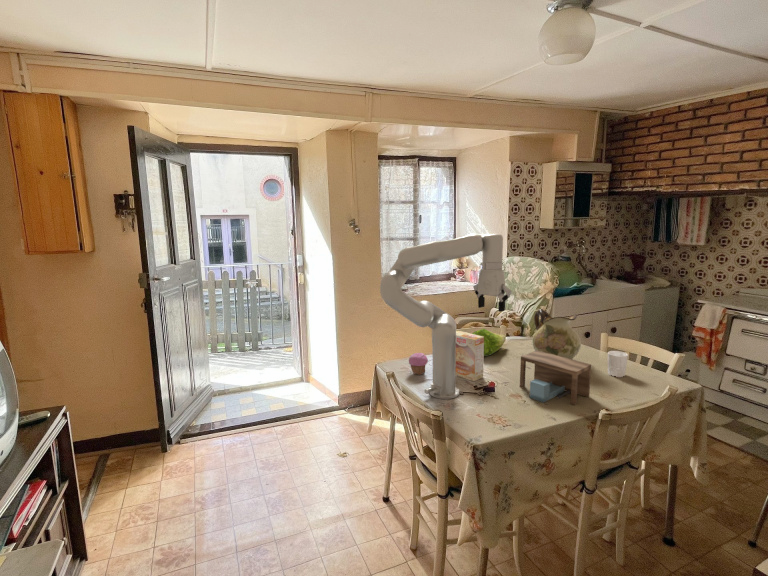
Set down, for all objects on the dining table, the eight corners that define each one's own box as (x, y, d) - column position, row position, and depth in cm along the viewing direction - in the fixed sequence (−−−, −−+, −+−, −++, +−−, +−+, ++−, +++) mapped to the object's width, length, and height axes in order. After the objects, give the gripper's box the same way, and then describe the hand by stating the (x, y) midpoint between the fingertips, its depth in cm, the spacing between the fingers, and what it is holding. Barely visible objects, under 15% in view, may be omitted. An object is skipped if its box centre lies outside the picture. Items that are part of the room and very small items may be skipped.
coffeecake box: (448, 373, 196) (448, 332, 193) (457, 369, 201) (457, 329, 198) (474, 381, 185) (475, 339, 182) (483, 377, 190) (484, 336, 187)
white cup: (621, 379, 184) (623, 357, 182) (603, 374, 190) (604, 353, 188) (629, 374, 189) (630, 353, 187) (610, 370, 195) (612, 349, 193)
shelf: (574, 405, 160) (576, 372, 158) (519, 386, 179) (520, 356, 176) (589, 396, 168) (591, 364, 165) (535, 379, 186) (536, 350, 184)
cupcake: (430, 371, 198) (430, 351, 196) (423, 378, 190) (423, 357, 189) (413, 369, 202) (413, 349, 200) (405, 375, 194) (405, 354, 193)
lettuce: (490, 345, 239) (513, 354, 228) (464, 352, 223) (487, 361, 212) (494, 321, 236) (517, 328, 225) (467, 326, 220) (491, 334, 209)
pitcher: (577, 372, 193) (580, 319, 189) (524, 364, 205) (526, 314, 201) (581, 358, 212) (584, 310, 208) (533, 351, 224) (535, 306, 220)
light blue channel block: (543, 402, 163) (544, 385, 162) (529, 397, 168) (530, 381, 167) (564, 391, 173) (565, 375, 172) (550, 387, 178) (551, 371, 176)
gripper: (468, 265, 166) (467, 307, 169) (505, 268, 153) (504, 314, 156) (480, 263, 171) (479, 304, 173) (517, 266, 157) (515, 311, 160)
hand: (491, 309), depth 164 cm, fingers open, 9 cm apart
